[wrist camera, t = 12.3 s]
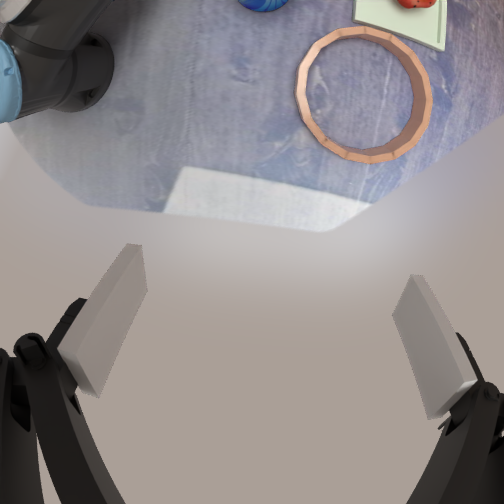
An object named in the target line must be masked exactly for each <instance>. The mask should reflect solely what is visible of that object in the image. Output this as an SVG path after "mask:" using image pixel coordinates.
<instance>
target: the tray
mask: <svg viewBox="0 0 504 504" xmlns="http://www.w3.org/2000/svg"><path fill="white" fill-rule="evenodd" d="M446 16H447V0H437V1H436V2H435V5H432V6H431V7H429V8H411V9H407V8H404V7H403V6H402V5H401V4H400V3H399V2H398V1H397V0H354V1H353V13H352V22H355V23H358V24H362V25H366V26H369V27H373V28H376V29H379V30H383V31H386V32H389V33H392V34H395V35H398V36H401V37H403V38H406V39H409V40H412V41H414V42H417V43H419V44H422V45H424V46H427V47H429V48H431V49H434V50H436V51H438V52H439V51H444V48H445V35H446Z"/></svg>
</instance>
